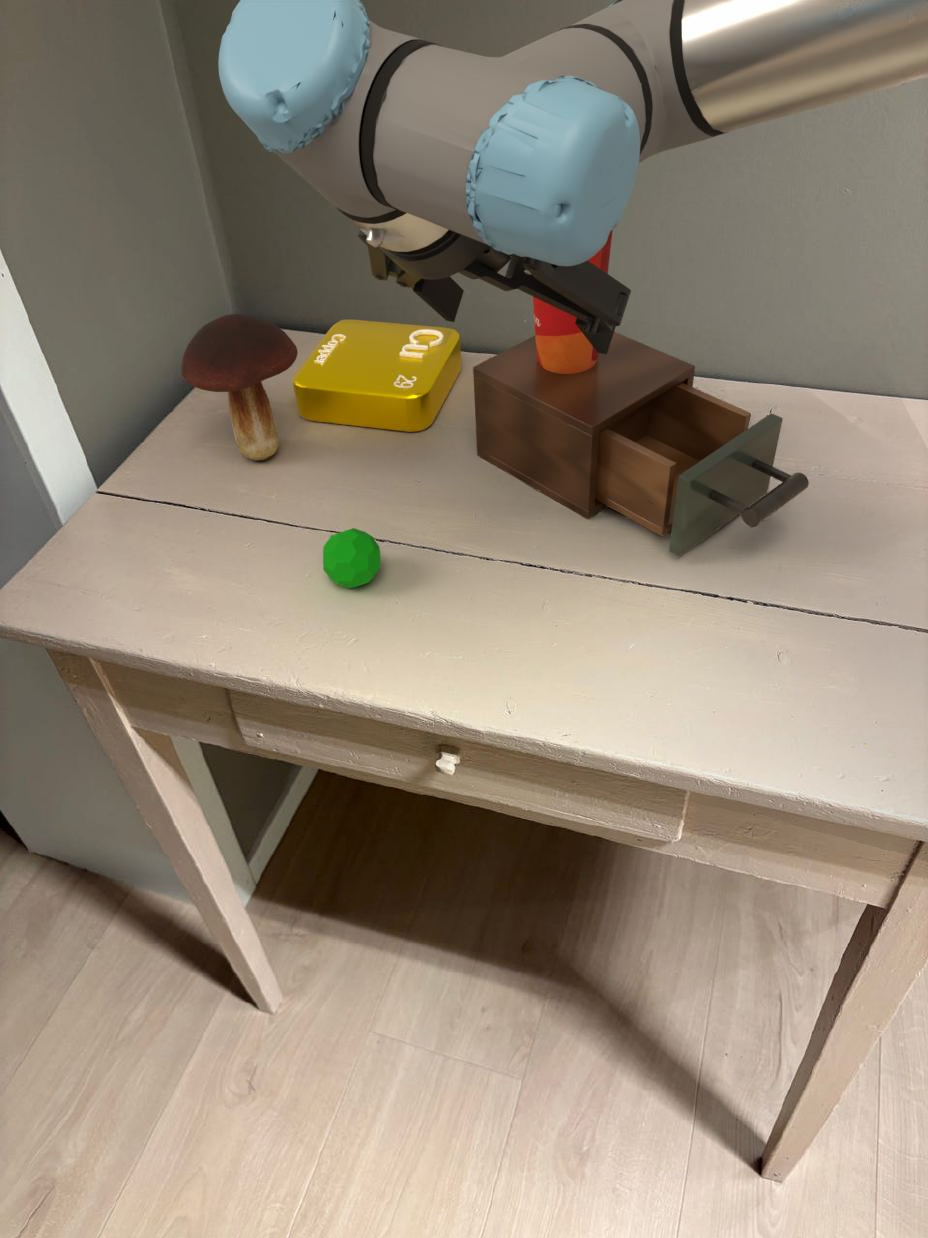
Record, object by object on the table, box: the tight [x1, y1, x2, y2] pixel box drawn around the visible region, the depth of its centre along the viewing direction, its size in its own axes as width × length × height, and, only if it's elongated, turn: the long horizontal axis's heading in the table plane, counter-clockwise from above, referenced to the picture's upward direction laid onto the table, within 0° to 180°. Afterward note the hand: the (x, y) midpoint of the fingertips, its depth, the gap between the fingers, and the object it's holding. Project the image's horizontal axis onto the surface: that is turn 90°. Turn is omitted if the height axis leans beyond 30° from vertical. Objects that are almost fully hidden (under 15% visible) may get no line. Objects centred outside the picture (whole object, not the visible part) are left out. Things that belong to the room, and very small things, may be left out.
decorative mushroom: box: [180, 313, 299, 462], centre depth 92 cm, size 11×11×15 cm
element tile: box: [292, 319, 463, 433], centre depth 103 cm, size 15×15×5 cm
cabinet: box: [472, 331, 696, 520], centre depth 91 cm, size 15×14×10 cm
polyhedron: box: [322, 527, 381, 589], centre depth 81 cm, size 5×5×5 cm
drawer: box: [595, 382, 810, 558], centre depth 84 cm, size 19×13×8 cm
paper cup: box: [532, 229, 614, 374], centre depth 84 cm, size 8×8×14 cm
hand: (529, 320), depth 77 cm, fingers open, 13 cm apart
